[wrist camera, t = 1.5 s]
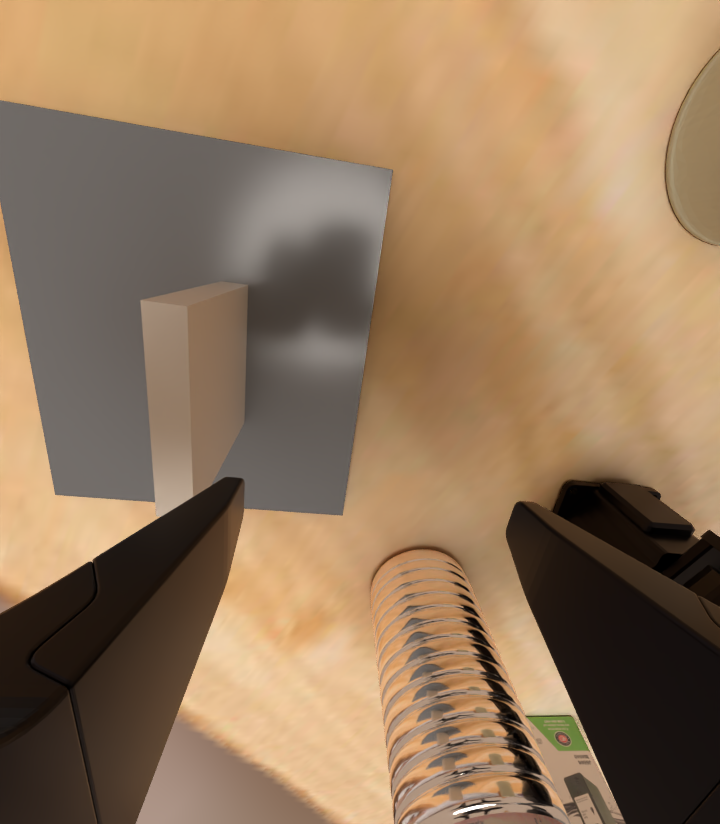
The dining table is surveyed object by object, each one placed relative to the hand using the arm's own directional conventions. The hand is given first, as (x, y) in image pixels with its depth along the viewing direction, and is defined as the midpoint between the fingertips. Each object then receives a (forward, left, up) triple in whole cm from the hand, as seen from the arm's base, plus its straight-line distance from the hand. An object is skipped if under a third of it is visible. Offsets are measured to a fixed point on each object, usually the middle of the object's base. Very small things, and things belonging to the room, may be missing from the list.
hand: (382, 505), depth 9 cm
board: (0, +8, -12) cm, 15 cm away
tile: (0, +6, -12) cm, 13 cm away
